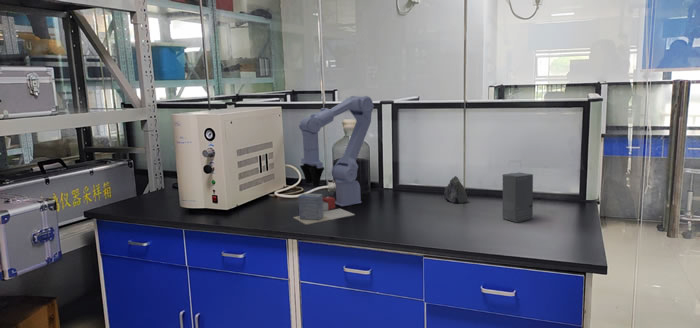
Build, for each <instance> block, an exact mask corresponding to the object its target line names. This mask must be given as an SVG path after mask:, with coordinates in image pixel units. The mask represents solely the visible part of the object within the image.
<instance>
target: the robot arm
mask: <svg viewBox="0 0 700 328" xmlns="http://www.w3.org/2000/svg"><path fill="white" fill-rule="evenodd" d="M374 107H375V105H374V103H373V100H372V98H371V97H370V96H367V95H365V96H355V95H352V96H350V97H346V98H345V100H342V101H341V102H340V103H338V104H336V105H335V106H333V107H331V108H330V109H329V108H328V107H327V108H326V107H321V108H320V110H319V111H318V112H316V113H311V114H310V117H309V116H306V117H303V118H302V119H301V120H300V124H299V125H298V126H299V129H300V131H301V133H302V134H301V135H302V145H303V158H301V161H300V163H301V165H299V167H300V169H301V171H302V173H303V176H304V179H305V182H306V184H312V185H313V187H317V186H320V183H321V177H322V174H323V173H324V170H325V167H324V165H323V164H324V163H323V162H322V161H321V160H320V153H319V152H320V150H319V149H320V148H319V132H320V130H321V129H322V128H323V127H325V126H326V125H328V124H330V123H332V122H333V121H334V118H335V117H337V116H339V115H341V114H344V113H346V112H347V111H349V112H350V113H351V115H352V116H353V117H354V119H355V121H356V122H355V125H354V128H353V129H352V132H351V135H350V138H349V140H348V143H347V145H346V148H345V150H344V153H343V155H342V157H340V158H339V159H338V160H337V161H336V163H335V164H334V166H333V167H332V169H331V177H332V178H333V179H334V182H335V195H336V196H335V198H336V199H335V205H337V206H339V207H346V206H352V205H357V204H361V203H363V201H362V200H361V199H362V198H361V195H362V194H361V186H360V183H359V181H358V180H356V179H357V177H358V169H359V164H358V163H357V159H358V156H359V154H360V151H361V149H362V146H363V143H364V141H365V138H366V136H367V132H368V131H369V127H370V125H371V123H372V113H373V111H374V110H373V109H374Z"/></svg>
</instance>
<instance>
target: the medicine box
mask: <svg viewBox="0 0 700 328" xmlns="http://www.w3.org/2000/svg"><path fill="white" fill-rule="evenodd" d="M323 198H324V195H323V193H301V194H300V195H298V196H297V199H298V211H299V213H298V216H300V219H312V220H320V219H321V218H323V217H324V212H323Z"/></svg>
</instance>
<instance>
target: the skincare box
mask: <svg viewBox="0 0 700 328" xmlns="http://www.w3.org/2000/svg"><path fill="white" fill-rule="evenodd" d="M533 189H534V174H532V173H527V172H526V173H525V172H524V173H523V172H511V173H504V174H502V219H503V220H506V221H511V222H513V223H516V224H517V223H520V222H526V221H528V220H533V213H534V212H533V205H534V202H533V197H534V195H533V193H534V192H533Z"/></svg>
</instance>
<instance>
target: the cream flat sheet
mask: <svg viewBox="0 0 700 328" xmlns="http://www.w3.org/2000/svg"><path fill="white" fill-rule="evenodd" d="M355 215H356V214H355V213H352V212H350V211H348V210H345V209H342V208H334V209H329V210H328V211H324V217H323V218H321V219H320V220H312V219H300V216H299V215H297V216H293V217H292V219H294V220H296V221H297V222H299V223H301V224H303V225H305V226H307V225H308V226H309V225H312V224H317V223H323V222H327V221H334V220H337V219H338V220H339V219H342V218H348V217H349V218H350V217H354V216H355Z"/></svg>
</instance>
